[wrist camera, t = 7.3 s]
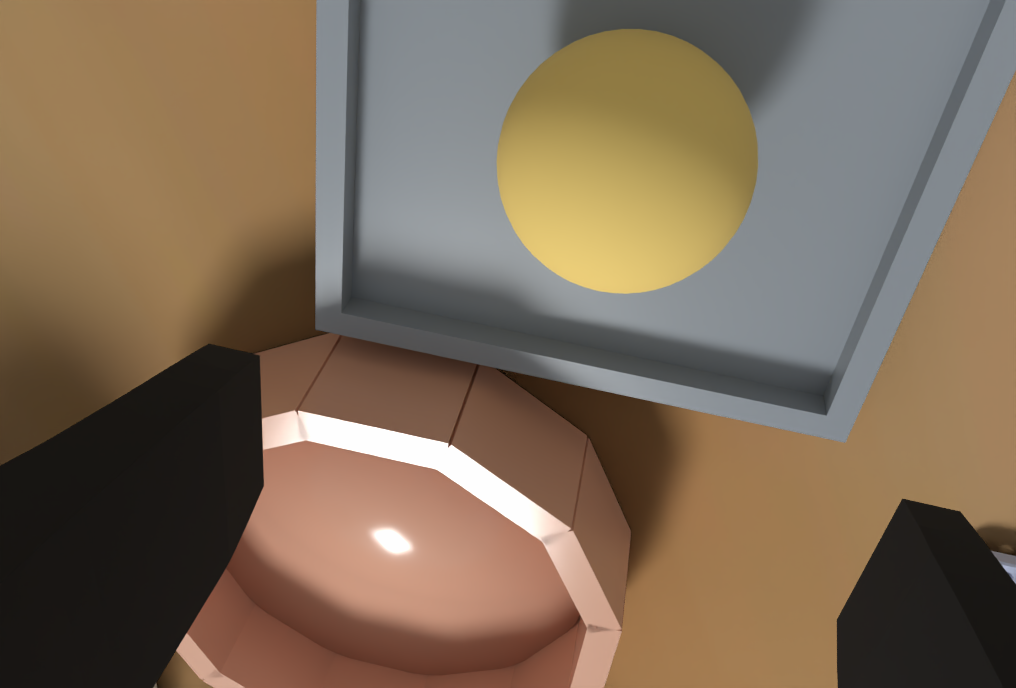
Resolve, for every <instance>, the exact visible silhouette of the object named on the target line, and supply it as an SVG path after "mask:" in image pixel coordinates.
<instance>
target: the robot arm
mask: <svg viewBox="0 0 1016 688" xmlns="http://www.w3.org/2000/svg"><path fill="white" fill-rule="evenodd" d="M263 487H264V470H263V438H262V406H261V374H260V355H257V354H252V353H248V352H243V351H239V350H234V349H230V348H225V347H221V346H216V345H212V344H208V345H206V346H204V347H202V348H201V349H199V350H197V351H195V352H194V353H192V354H190V355H189V356H187V357H185V358H184V359H182V360H180V361H179V362H177V363H175V364H174V365H172V366H170V367H169V368H167V369H166V370H164V371H162V372H161V373H159V374H157V375H156V376H154V377H153V378H151V379H149V380H148V381H146V382H144V383H143V384H141V385H140V386H138V387H136V388H135V389H133V390H131V391H130V392H128V393H127V394H125V395H123V396H122V397H120V398H118V399H117V400H115V401H113V402H112V403H110V404H108V405H107V406H105V407H103V408H102V409H100V410H98V411H96V412H95V413H93V414H91V415H90V416H88V417H86V418H85V419H83V420H81V421H80V422H78V423H76V424H75V425H73V426H71V427H69V428H68V429H66V430H64V431H63V432H61V433H59V434H58V435H56V436H54V437H53V438H51V439H49V440H47V441H46V442H44V443H42V444H40V445H38V446H36V447H35V448H33V449H31V450H29V451H27V452H25V453H23V454H21V455H20V456H18V457H16V458H14V459H12V460H10V461H8V462H7V463H5V464H3V465H1V466H0V688H153V687H154V685H155V684H156V682H157V681H158V679H159V677H160V676H161V674H162V673H163V671H164V669H165V668H166V666H167V664H168V663H169V661H170V660H171V658H172V656H173V655H174V653H175V651H176V650H177V648H178V647H179V645H180V643H181V642H182V640H183V638H184V637H185V635H186V634H187V632H188V630H189V629H190V627H191V625H192V624H193V622H194V621H195V619H196V617H197V616H198V614H199V612H200V611H201V609H202V607H203V606H204V604H205V602H206V601H207V599H208V597H209V596H210V594H211V593H212V591H213V589H214V588H215V586H216V584H217V583H218V581H219V579H220V578H221V576H222V574H223V573H224V571H225V569H226V567H227V566H228V564H229V562H230V560H231V558H232V556H233V554H234V552H235V550H236V547H237V545H238V543H239V541H240V539H241V537H242V535H243V532H244V530H245V528H246V526H247V524H248V521H249V519H250V517H251V514H252V512H253V510H254V508H255V505H256V503H257V501H258V498H259V496H260V494H261V491H262V489H263ZM837 675H838V688H1016V556H1013V555H1008V554H1004V553H999V552H995V551H991V550H990V549H989V548H988V546H987V545H986V544H985V542H984V541H983V540H982V538H981V537H980V536H979V535H978V533H977V532H976V531H975V529H974V528H973V527H972V526H971V524H970V523H969V522H968V521H967V519H966V518H965V517H964V516H963V514H962V513H961V512H960V511H955V510H951V509H946V508H942V507H937V506H933V505H928V504H924V503H919V502H915V501H910V500H906V499H902V501H901V502H900V504H899V506H898V508H897V510H896V512H895V513H894V515H893V517H892V519H891V521H890V523H889V525H888V526H887V528H886V530H885V532H884V534H883V536H882V538H881V539H880V541H879V543H878V545H877V547H876V549H875V550H874V552H873V554H872V556H871V558H870V560H869V562H868V563H867V565H866V567H865V569H864V571H863V573H862V574H861V576H860V578H859V580H858V582H857V584H856V586H855V587H854V589H853V591H852V593H851V595H850V597H849V599H848V600H847V602H846V604H845V606H844V608H843V610H842V611H841V613H840V615H839V617H838V619H837Z"/></svg>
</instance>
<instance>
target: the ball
mask: <svg viewBox="0 0 1016 688" xmlns="http://www.w3.org/2000/svg"><path fill="white" fill-rule="evenodd" d="M496 162H497V179H498V186H499V192H500V197H501V200H502V203H503V206H504V209H505V212H506V215H507V217H508V219H509V221H510V223H511V225H512V227H513V229H514V231H515V233H516V234H517V236H518V237H519V239H520V240H521V242H522V243H523V244H524V246H525V247H526V248H527V249H528V250H529V251H530V252H531V254H532V255H533V256H534V257H536V258H537V259H538V260H539V261H540V262H541V263H542V264H543V265H545V266H546V267H547V268H548V269H550V270H551V271H553V272H554V273H556V274H557V275H559V276H560V277H562V278H564V279H566V280H568V281H570V282H572V283H575V284H577V285H580V286H582V287H585V288H589V289H592V290H596V291H601V292H608V293H622V294H629V293H642V292H647V291H652V290H657V289H660V288H663V287H666V286H670V285H672V284H674V283H676V282H679V281H681V280H683V279H685V278H687V277H688V276H690V275H692V274H693V273H695V272H697V271H698V270H700V269H701V268H703V267H704V266H705V265H707V264H708V263H709V262H710V261H712V260H713V259H714V258H715V257H716V256H717V255H718V254H719V253H720V252H721V251H722V250H723V249H724V247H725V246H726V245H727V244H728V242H729V241H730V240H731V238H732V237H733V236H734V234H735V233H736V232H737V230H738V228H739V227H740V225H741V223H742V221H743V220H744V218H745V215H746V213H747V211H748V208H749V206H750V203H751V200H752V197H753V193H754V189H755V185H756V181H757V172H758V142H757V136H756V131H755V126H754V123H753V119H752V116H751V113H750V110H749V108H748V106H747V104H746V102H745V100H744V98H743V96H742V93H741V91H740V90H739V88H738V87H737V85H736V84H735V82H734V81H733V80H732V78H731V77H730V76H729V75H728V73H727V72H726V71H725V70H724V69H723V68H722V67H721V66H720V65H719V64H718V63H717V62H716V61H714V60H713V59H712V58H711V57H710V56H708V55H707V54H706V53H705V52H703V51H702V50H700V49H699V48H697V47H695V46H694V45H692V44H690V43H689V42H686V41H684V40H682V39H679V38H677V37H675V36H672V35H668V34H665V33H661V32H657V31H651V30H643V29H618V30H610V31H604V32H600V33H597V34H593V35H589V36H587V37H584V38H582V39H580V40H577V41H575V42H573V43H571V44H569V45H567V46H566V47H564V48H562V49H561V50H559V51H557V52H556V53H554V54H553V55H552V56H550V57H549V58H548V59H547V60H545V61H544V62H543V63H541V64H540V65H539V66H538V67H537V69H536V70H535V71H534V72H533V73H532V74H531V75H530V76H529V77H528V78H527V80H526V81H525V82H524V84H523V85H522V87H521V88H520V89H519V91H518V92H517V94H516V96H515V98H514V99H513V101H512V103H511V105H510V107H509V109H508V111H507V114H506V117H505V119H504V122H503V125H502V129H501V134H500V138H499V143H498V149H497V161H496Z"/></svg>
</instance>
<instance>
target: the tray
mask: <svg viewBox="0 0 1016 688" xmlns="http://www.w3.org/2000/svg"><path fill="white" fill-rule="evenodd" d="M618 29H643V30H651V31H657V32H661V33H665V34H668V35H672V36H675V37H677V38H679V39H682V40H684V41H686V42H689V43H690V44H692V45H694V46H695V47H697V48H699V49H700V50H702V51H703V52H705V53H706V54H707V55H708V56H710V57H711V58H712V59H713V60H714V61H716V62H717V63H718V64H719V65H720V66H721V67H722V68H723V69H724V70H725V71H726V72H727V73H728V75H729V76H730V77H731V78H732V80H733V81H734V82H735V84H736V85H737V87H738V88H739V90H740V91H741V93H742V96H743V98H744V100H745V102H746V104H747V106H748V108H749V110H750V113H751V116H752V119H753V123H754V126H755V131H756V136H757V142H758V172H757V181H756V185H755V189H754V193H753V197H752V200H751V203H750V206H749V208H748V211H747V213H746V215H745V218H744V220H743V221H742V223H741V225H740V227H739V228H738V230H737V232H736V233H735V234H734V236H733V237H732V238H731V240H730V241H729V242H728V244H727V245H726V246H725V247H724V249H723V250H722V251H721V252H720V253H719V254H718V255H717V256H716V257H715V258H714V259H713V260H712V261H710V262H709V263H708V264H707V265H705V266H704V267H703V268H701V269H700V270H698V271H697V272H695V273H693V274H692V275H690V276H688V277H687V278H685V279H683V280H681V281H679V282H676V283H674V284H672V285H670V286H666V287H663V288H660V289H657V290H652V291H647V292H642V293H629V294H622V293H608V292H601V291H596V290H592V289H589V288H585V287H582V286H580V285H577V284H575V283H572V282H570V281H568V280H566V279H564V278H562V277H560V276H559V275H557V274H556V273H554V272H553V271H551V270H550V269H548V268H547V267H546V266H545V265H543V264H542V263H541V262H540V261H539V260H538V259H537V258H536V257H534V256H533V255H532V254H531V252H530V251H529V250H528V249H527V248H526V247H525V246H524V244H523V243H522V242H521V240H520V239H519V237H518V236H517V234H516V233H515V231H514V229H513V227H512V225H511V223H510V221H509V219H508V217H507V215H506V212H505V209H504V206H503V203H502V200H501V197H500V192H499V186H498V179H497V162H496V161H497V149H498V143H499V138H500V134H501V129H502V125H503V122H504V119H505V117H506V114H507V111H508V109H509V107H510V105H511V103H512V101H513V99H514V98H515V96H516V94H517V92H518V91H519V89H520V88H521V87H522V85H523V84H524V82H525V81H526V80H527V78H528V77H529V76H530V75H531V74H532V73H533V72H534V71H535V70H536V69H537V67H538V66H539V65H540V64H541V63H543V62H544V61H545V60H547V59H548V58H549V57H550V56H552V55H553V54H554V53H556V52H557V51H559V50H561V49H562V48H564V47H566V46H567V45H569V44H571V43H573V42H575V41H577V40H580V39H582V38H584V37H587V36H589V35H593V34H597V33H600V32H604V31H610V30H618ZM1015 70H1016V0H317V35H316V296H315V330H319V331H324V332H329V333H334V334H338V335H343V336H348V337H352V338H357V339H362V340H366V341H371V342H376V343H380V344H385V345H390V346H395V347H399V348H404V349H409V350H413V351H418V352H423V353H427V354H432V355H437V356H441V357H446V358H451V359H456V360H460V361H465V362H470V363H474V364H479V365H484V366H488V367H493V368H498V369H502V370H507V371H512V372H516V373H521V374H526V375H531V376H535V377H540V378H545V379H549V380H554V381H559V382H563V383H568V384H573V385H577V386H582V387H587V388H592V389H596V390H601V391H606V392H610V393H615V394H620V395H624V396H629V397H634V398H638V399H643V400H648V401H653V402H657V403H662V404H667V405H671V406H676V407H681V408H685V409H690V410H695V411H699V412H704V413H709V414H713V415H718V416H723V417H728V418H732V419H737V420H742V421H746V422H751V423H756V424H760V425H765V426H770V427H774V428H779V429H784V430H789V431H793V432H798V433H803V434H807V435H812V436H817V437H821V438H826V439H831V440H835V441H840V442H846V440H847V438H848V435H849V433H850V431H851V429H852V427H853V425H854V422H855V420H856V418H857V416H858V414H859V411H860V409H861V407H862V405H863V403H864V400H865V398H866V396H867V394H868V392H869V390H870V387H871V385H872V383H873V381H874V379H875V376H876V374H877V372H878V370H879V368H880V365H881V363H882V361H883V359H884V357H885V355H886V352H887V350H888V348H889V346H890V344H891V341H892V339H893V337H894V335H895V333H896V331H897V328H898V326H899V324H900V322H901V320H902V317H903V315H904V313H905V311H906V309H907V306H908V304H909V302H910V300H911V298H912V296H913V293H914V291H915V289H916V287H917V285H918V282H919V280H920V278H921V276H922V274H923V271H924V269H925V267H926V265H927V263H928V261H929V258H930V256H931V254H932V252H933V250H934V247H935V245H936V243H937V241H938V239H939V237H940V234H941V232H942V230H943V228H944V226H945V223H946V221H947V219H948V217H949V215H950V212H951V210H952V208H953V206H954V204H955V202H956V199H957V197H958V195H959V193H960V191H961V188H962V186H963V184H964V182H965V180H966V178H967V175H968V173H969V171H970V169H971V167H972V164H973V162H974V160H975V158H976V156H977V153H978V151H979V149H980V147H981V145H982V143H983V140H984V138H985V136H986V134H987V132H988V129H989V127H990V125H991V123H992V121H993V118H994V116H995V114H996V112H997V110H998V108H999V105H1000V103H1001V101H1002V99H1003V97H1004V94H1005V92H1006V90H1007V88H1008V86H1009V84H1010V81H1011V79H1012V77H1013V75H1014V73H1015Z"/></svg>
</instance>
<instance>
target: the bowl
mask: <svg viewBox="0 0 1016 688" xmlns="http://www.w3.org/2000/svg"><path fill="white" fill-rule="evenodd" d="M255 354H257V355H260V374H261V406H262V438H263V470H264V487H263V489H262V491H261V494H260V496H259V498H258V501H257V503H256V505H255V508H254V510H253V512H252V514H251V517H250V519H249V521H248V524H247V526H246V528H245V530H244V532H243V535H242V537H241V539H240V541H239V543H238V545H237V547H236V550H235V552H234V554H233V556H232V558H231V560H230V562H229V564H228V566H227V567H226V569H225V571H224V573H223V574H222V576H221V578H220V579H219V581H218V583H217V584H216V586H215V588H214V589H213V591H212V593H211V594H210V596H209V597H208V599H207V601H206V602H205V604H204V606H203V607H202V609H201V611H200V612H199V614H198V616H197V617H196V619H195V621H194V622H193V624H192V625H191V627H190V629H189V630H188V632H187V634H186V635H185V637H184V638H183V640H182V642H181V643H180V645H179V647H178V648H177V650H176V651H177V652H178V653H179V654H180V656H181V657H182V658H183V659H184V660H185V661H186V663H187V664H188V665H189V666H190V667H191V668H192V670H193V671H194V672H195V673H196V674H197V675H198V677H199V678H200V679H204V680H203V681H204V682H205V683H207V684H209V685H210V686H212V687H214V688H604V686H605V683H606V679H607V676H608V673H609V670H610V667H611V664H612V660H613V657H614V654H615V651H616V648H617V645H618V642H619V638H620V635H621V632H622V623H623V613H624V603H625V592H626V582H627V572H628V561H629V551H630V540H631V530H630V528H629V526H628V524H627V521H626V519H625V517H624V515H623V512H622V510H621V508H620V506H619V504H618V501H617V499H616V497H615V495H614V492H613V490H612V488H611V486H610V484H609V481H608V479H607V477H606V475H605V472H604V470H603V468H602V466H601V463H600V461H599V459H598V457H597V455H596V452H595V450H594V448H593V446H592V443H591V441H590V439H589V438H587V435H586V434H584V433H583V432H582V431H580V430H579V429H577V428H576V427H575V426H573V425H572V424H571V423H569V422H568V421H567V420H565V419H564V418H562V417H561V416H560V415H558V414H557V413H556V412H554V411H553V410H552V409H550V408H549V407H547V406H546V405H545V404H543V403H542V402H541V401H539V400H538V399H537V398H535V397H534V396H532V395H531V394H530V393H528V392H527V391H526V390H524V389H523V388H521V387H520V386H519V385H517V384H516V383H515V382H513V381H512V380H511V379H509V378H508V377H506V376H505V375H504V374H502V373H501V372H500V371H498V370H497V369H496V368H493V367H488V366H484V365H479V364H474V363H470V362H465V361H460V360H456V359H451V358H446V357H441V356H437V355H432V354H427V353H423V352H418V351H413V350H409V349H404V348H399V347H395V346H390V345H385V344H380V343H376V342H371V341H366V340H362V339H357V338H352V337H348V336H343V335H338V334H334V333H328V334H324V335H321V336H317V337H313V338H310V339H306V340H302V341H299V342H295V343H291V344H288V345H284V346H280V347H277V348H273V349H269V350H266V351H262V352H258V353H255Z"/></svg>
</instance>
